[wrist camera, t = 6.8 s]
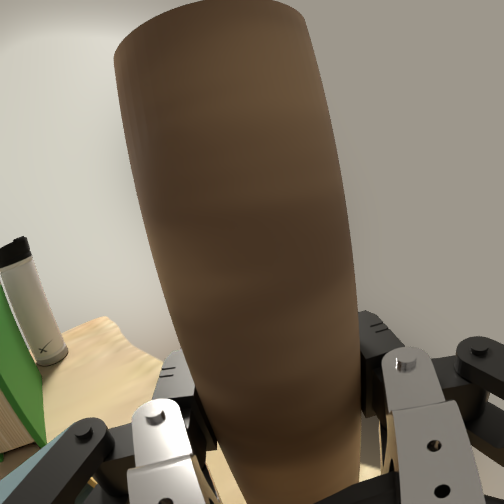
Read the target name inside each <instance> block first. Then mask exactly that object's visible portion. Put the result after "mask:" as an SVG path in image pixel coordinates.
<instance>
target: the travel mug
mask: <svg viewBox="0 0 504 504" xmlns="http://www.w3.org/2000/svg"><path fill="white" fill-rule="evenodd" d="M32 258H33V257H32V254H31V252H30V248H29V244H28V241H27V238H26V237H24V236H22V237H19V238H16V239H14V240H13V242H12V243H9V244H7V245H5V246H4V247H2V248H0V272H1V277H2V280H3V282H4V286H5V288H6V291H7V294H8V297H9V299H10V302H11V304H12V307H13V310H14V312H15V315H16V317H17V319H18V322H19V324H20V327H21V329H22V331H23V333H24V335H25V338H26V340H27V342H28V344H29V346H30V349H31V351H32V353H33V355H34V357H35V359H36V361H37V363H38V364H39V365H42V366H48V365H52V364H54V363H57V362H58V361H60V360H62V359H63V358H64V357H65V356H66V355H67V353H68V348H67V346H66V344H65V342H64V339H63V337H62V335H61V333H60V330H59V328H58V326H57V323H56V321H55V318H54V316H53V313H52V311H51V308H50V306H49V303H48V300H47V298H46V295H45V292H44V290H43V287H42V284H41V281H40V278H39V275H38V272H37V269H36V266H35V263H34V260H33V259H32Z"/></svg>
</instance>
